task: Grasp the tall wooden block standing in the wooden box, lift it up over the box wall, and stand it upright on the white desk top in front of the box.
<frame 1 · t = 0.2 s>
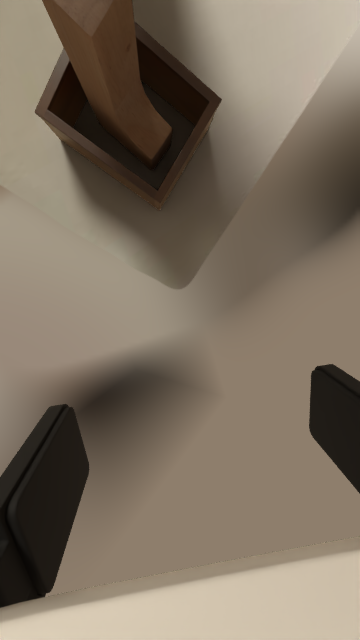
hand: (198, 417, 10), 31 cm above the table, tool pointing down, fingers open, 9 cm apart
wooden box: (135, 134, 33), on the table
wooden block: (135, 134, 33), resting in wooden box
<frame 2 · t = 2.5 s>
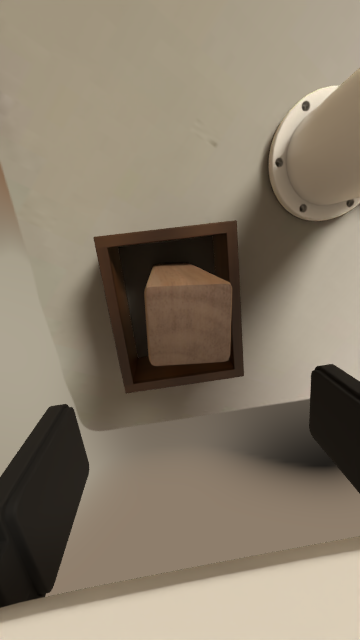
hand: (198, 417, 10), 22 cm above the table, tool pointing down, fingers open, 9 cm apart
wooden box: (173, 300, 30), on the table
wooden block: (172, 299, 31), resting in wooden box
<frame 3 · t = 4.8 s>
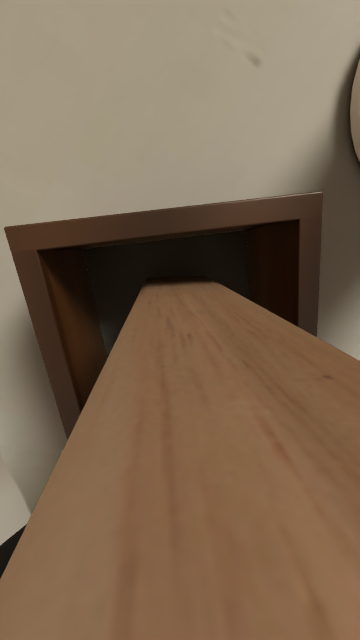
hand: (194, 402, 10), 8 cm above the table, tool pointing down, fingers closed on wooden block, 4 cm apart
wooden box: (178, 336, 18), on the table
wooden block: (178, 335, 19), resting in wooden box, touching gripper
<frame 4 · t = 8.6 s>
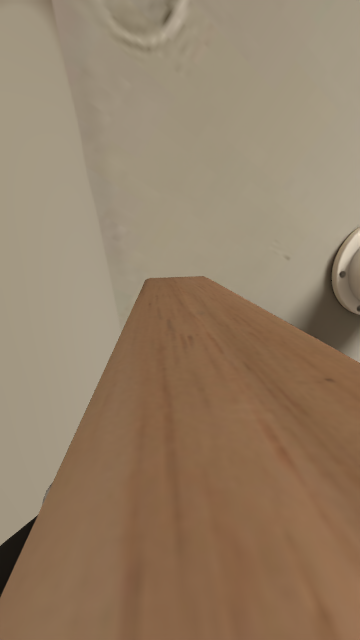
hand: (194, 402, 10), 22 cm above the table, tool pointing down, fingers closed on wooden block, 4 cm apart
wooden block: (177, 336, 19), point 13 cm above the table, touching gripper
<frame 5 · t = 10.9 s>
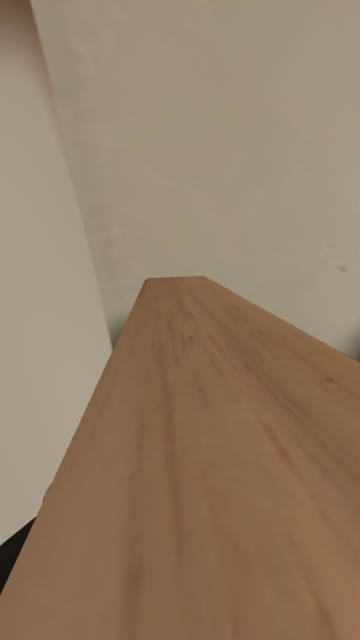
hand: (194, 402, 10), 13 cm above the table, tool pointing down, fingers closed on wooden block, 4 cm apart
wooden block: (177, 336, 19), point 4 cm above the table, touching gripper
when the fingers open (8 cm above the table, at t = 12.5 s): wooden block stays where it is, on the table.
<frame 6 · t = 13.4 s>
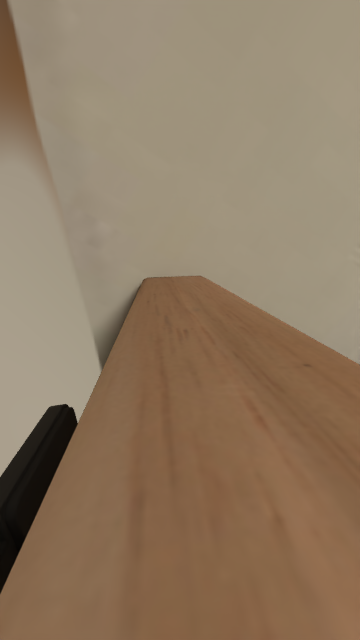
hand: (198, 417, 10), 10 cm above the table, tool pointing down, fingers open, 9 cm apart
wooden block: (175, 334, 19), on the table
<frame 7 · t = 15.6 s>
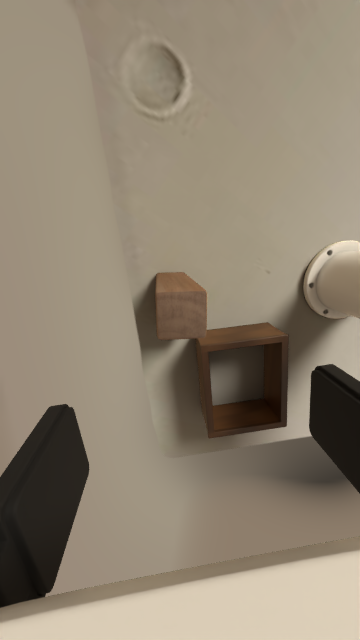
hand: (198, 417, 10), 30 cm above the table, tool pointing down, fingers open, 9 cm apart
wooden box: (233, 368, 43), on the table
wooden block: (171, 300, 39), on the table
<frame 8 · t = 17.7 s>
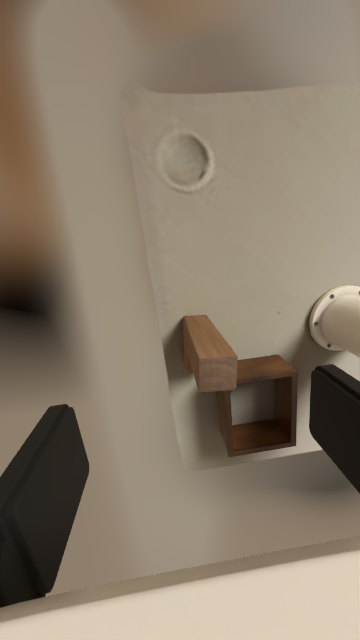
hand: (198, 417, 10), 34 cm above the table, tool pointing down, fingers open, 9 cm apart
wooden box: (248, 393, 50), on the table
wooden block: (194, 338, 46), on the table
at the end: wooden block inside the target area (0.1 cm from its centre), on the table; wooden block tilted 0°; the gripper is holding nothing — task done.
